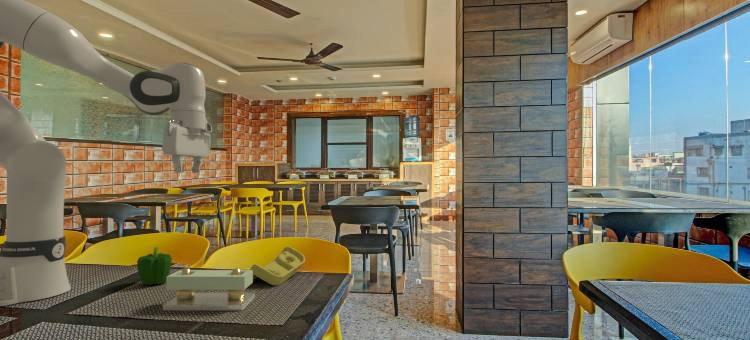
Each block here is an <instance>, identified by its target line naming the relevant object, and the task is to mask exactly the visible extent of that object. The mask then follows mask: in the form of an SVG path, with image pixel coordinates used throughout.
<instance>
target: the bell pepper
mask: <svg viewBox="0 0 750 340" xmlns="http://www.w3.org/2000/svg"><path fill="white" fill-rule="evenodd" d="M159 249H160V247H159V246H154V248H153V253H149V254H146V255H143V256H139V257H138V259H137V261H136V263H137V264H136V268H137V273H138V275H139V279H140V282H141V284H143V285H144V286H154V285H162V284H165V283H166V277H167V276H169V275H171V274H170V273H171V270H172V269H171V268H172V262H173V261H172V256H171V254H170V253H168V254H167V253H162V252H160V253H158V250H159Z"/></svg>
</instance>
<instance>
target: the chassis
mask: <svg viewBox="0 0 750 340" xmlns="http://www.w3.org/2000/svg"><path fill="white" fill-rule="evenodd" d="M181 270H182V275H190V270H191V268H190V267H186V268H185V267H184V268H182V269H181ZM232 270H233V275H240V270H241V268H238V267H236V268H235V267H234V268H233V269H232ZM195 291H196V290H176V296H175V297H173V298H172V299H170V300H169V301H167V302H165V303H164V304H162V311H243V310H244V309H246V307H247V306H249V304H250V303H251V302H253V300H254V299H255V298H256V293H255V292H245V291H246V289H245V290H227V292H195Z"/></svg>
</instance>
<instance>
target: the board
mask: <svg viewBox="0 0 750 340" xmlns="http://www.w3.org/2000/svg"><path fill="white" fill-rule="evenodd" d="M253 282H254V280H253V270H250V269H240V275H233V269H190V275H182V269H180V270H177V271H174V272H173V273H171V274H169V276H167V277H166V282H165V283H166V288H165V289H166V290H170V291H171V290H172V291H173V290H175V291H177V290H195V291H196V290H197V291H201V290H202V291H203V290H205V291H206V290H207V291H208V290H210V291H216V290H217V291H218V290H219V291H220V290H221V291H225V290H227V291H228V290H245V291H246V289H247V288H248V287H249V286H250V285H252V284H253Z"/></svg>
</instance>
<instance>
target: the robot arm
mask: <svg viewBox="0 0 750 340" xmlns="http://www.w3.org/2000/svg"><path fill="white" fill-rule="evenodd" d="M4 44H8V45H10V46H12V47H13V48H14V47H15V48H16V49H19V50H21V51H23V52H25V53H27V54H29V55H31V56H33V57H35V58H37V59H39V60H42V61H44V62H47V63H49V64H52V65H55V66H58V67H61V68H63V69H67V70H69V71H72V72H74V73H77V74H81V75H82V76H86V77H87V78H90V79H93V80H94V81H96V82H98V83H100V84H102V85H104V86H105V87H108V88H110V89H111V90H114V91H116V92H117V93H120V94H121V95H122V96H125V97H126V98H128V99H129V100H130V101H131V102H132V103H133V105H134V106H135V107H136V108H137V109H138V110H139V111H141V112H142V113H144V114H146V115H150V116H160V115H163V114H165V113H167V112H168V111H169V110H170V111H169V120H168V122H167V123H166V126H165V128H164V129H163V136H162V145H161V147H162V148H161V149H162V153H163V155H166V156H171V161H172V164H173V167H174V173H175V174H183V173H184V172H185V170H184V169H185V166H183V162H182V161H183V157H188V158H192V161H193V164H192V166H191V173H192V174H199V173H201V165H202V163H203V158H204V159H206V158H209V156H210V154H211V142H212V141H211V140H212V139H211V133H212V132H213V125H212V124H211V123H209V121H208V119H207V117H206V114H207V113H206V109H205V101H206V97H207V96H206V94H207V93H206V80H205V75H204V73H203V70H201V69H200V68H198V67H197V66H196V65H194V64H190V63H186V62H175V63H173V64H172V65H170V66H167V67H164V68H160V69H154V70H144V71H141V72H140V71H139V73H137V74H134V73H131V72H129V71H128V70H126V69H124V68H122V67H120V66H118V65H117V64H115V63H113V62H112V61H110V60H108V59H107V58H105V57H104V56H103V55H102V54H101V53H100V52H99V51H98V50H96V49H95V47H94V46H93V45H92V44H91V43H90V42H89V40H88V39H87V38H86V37H85V36H84V35H83V33H81V31H79V30H78V29H77V28H75V27H74V26H73V25H71V24H70V23H68V22H67V21H65V20H64V19H62V18H61V17H59V16H57V15H56V14H53V12H50V11H48V10H46V9H44V8H42V7H40V6H38V5H36V4H34V3H32V2H30V1H27V0H0V49H2V48H3V46H4ZM0 166H2V168H4V170H6V214H5V215H6V223H5V224H6V228H5V231H6V232H5V233H6V234H5V235H6V237H5V239H6V240H5V241H4V242H3V243H0V307H3V306H9V305H10V306H11V305H14V304H20V303H25V302H32V301H38V300H43V299H47V298H51V297H55V296H58V295H62V294H64V293H67V292H69V291H70V290H71V289H72V286H71V284H70V281H69V278H68V277H69V276H68V274H67V268H66V261H65V253H66V250H67V249H66V245H67V243H66V242H67V240H66V236H65V235H64V229H65V228H64V225H65V224H64V220H65V219H64V215H65V212H64V211H65V210H64V208H65V196H66V195H65V193H66V181H67V178H66V177H67V158H66V156H65V154H64V152H63V151H62V149H60V148H59V147H58V146H56V145H55V144H53V143H51V142H49V141H47V140H46V139H45V138H44V136H43V135H41V133H40V132H39V131H38V130H37V129H36V128H35V127H34V125H33V124H32V123H31V122H30V120H28V118H27V117H26V116H25V115H24V113H22V111H21V110H20V109H19V108H18V107H17V106H16V105H15V104H14V103H13V102H12V101H11V100H10V99H9V98H8V97H7V96H6V94H4V93H3V92H2V90H0Z"/></svg>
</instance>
